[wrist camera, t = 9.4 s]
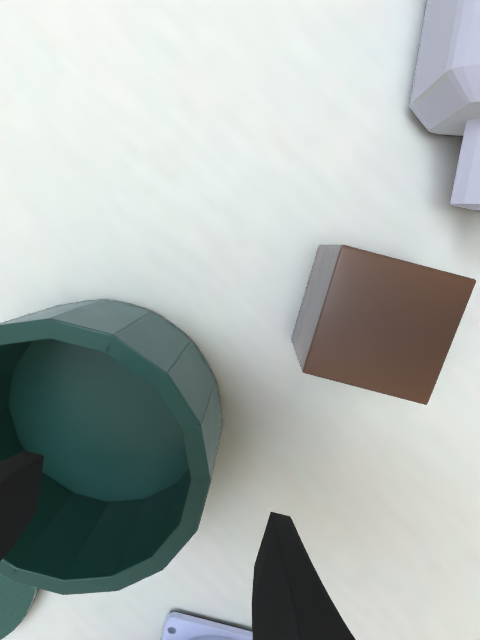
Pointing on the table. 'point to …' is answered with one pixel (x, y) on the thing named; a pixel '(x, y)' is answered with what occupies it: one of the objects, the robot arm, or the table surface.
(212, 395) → the tin
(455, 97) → the charger
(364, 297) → the block
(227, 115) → the table surface
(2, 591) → the lid
